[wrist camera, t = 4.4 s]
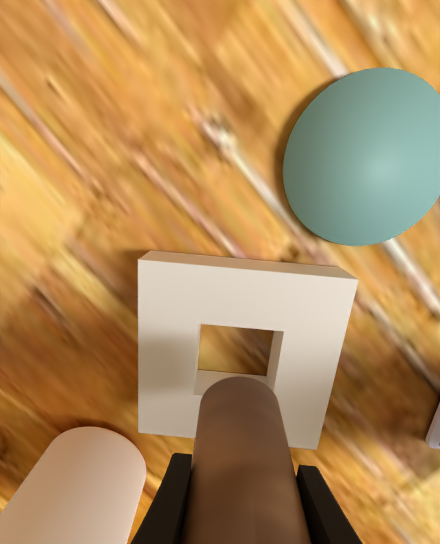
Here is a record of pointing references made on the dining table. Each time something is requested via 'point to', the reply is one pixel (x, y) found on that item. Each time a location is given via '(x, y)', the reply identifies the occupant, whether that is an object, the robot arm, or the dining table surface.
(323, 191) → the teal pad
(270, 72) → the dining table surface
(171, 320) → the block
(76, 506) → the beverage can
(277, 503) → the walnut dowel
